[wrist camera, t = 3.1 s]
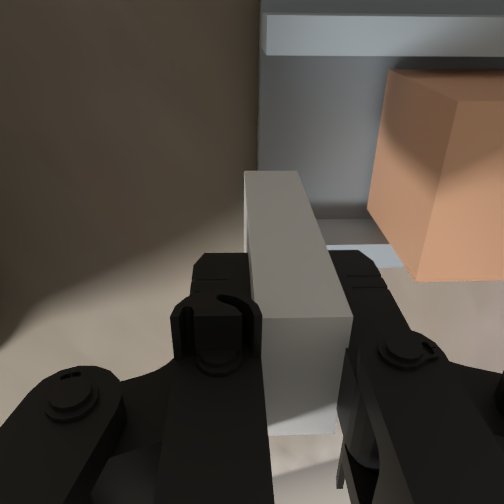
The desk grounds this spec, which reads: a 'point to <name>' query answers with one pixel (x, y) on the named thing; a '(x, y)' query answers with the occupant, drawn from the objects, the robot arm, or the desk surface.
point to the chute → (354, 93)
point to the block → (442, 173)
